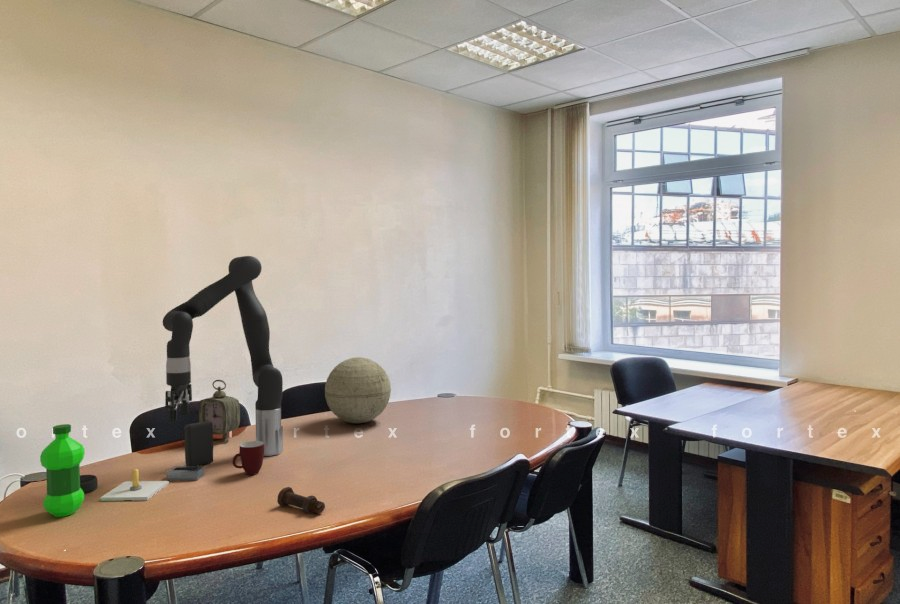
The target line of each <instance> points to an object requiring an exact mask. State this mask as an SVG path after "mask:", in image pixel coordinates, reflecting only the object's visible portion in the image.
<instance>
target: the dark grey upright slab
mask: <svg viewBox="0 0 900 604" xmlns="http://www.w3.org/2000/svg"><path fill="white" fill-rule="evenodd" d="M183 429H184V436H183V437H184V459H185V460H184V461H185V466H198V465H199V466H204V465H207V463H208V464H212V463H213V462H214V434H213V423H212V422H211V421H204V422H199V421H198V422H194V423H193V422H192V423H188V424H187V423H186V424H185V425H184V428H183ZM203 464H204V465H203Z"/></svg>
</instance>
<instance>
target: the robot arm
mask: <svg viewBox="0 0 900 604" xmlns="http://www.w3.org/2000/svg"><path fill="white" fill-rule="evenodd" d="M261 272H262V263H261V261H260V260H259V259H258V258H257V257H255V256H252V255H251V256H250V255H244V256H238V257H234V258H233V259H231V260H230V261H229V264H228V273H227V274H226V275H224V276H223V277H222V278H220V279H219V280H216V281H215V282H213V283H211V284H209V285H207V286H206V287H204V288H203V289H201V290H199V291H198V292H196V294H194V295H193V296H191V297H190V298H189V299H188V300H186V301H185V302H183V303H181V304H179V305H177V306H175V307H174V308H172V309H171V310H168V312H167V313H166V314H165V315H164V316H163V318H162V326H163V327H164V329H166V331H169V332H171V337H170V338H171V339H169V340H168V341H167V343H166V362H165V369H166V370H165V371H166V372H165V375H166V378H165V380H166V382H165V383H166V385H167V386H169V387H170V390H166V391H165V392H164V393H165V394H164V395H165V399H164V400H165V401H164V402H165V404H164V407H165V410H169V411H168V413H169V417H168V418H169V421H170V422H176V421H177V420H178V407H179V405H180V403H181V405H180V406H181V407H180V409H181V411H180V412H181V416H188V415H189V414H190V413H189V412H190V410H189V408H190V407H189V404H190V402H192V400H193V393H192V390H193V389H192V384H191V383H192V378H191V377H192V376H191V375H192V374H191V372H192V371H191V369H192V366H191V365H192V364H191V358H190V343H191V339H192V335H193V329H194V323H193V319H196V318H200V317H202V316H204V315H205V314H206V313H208V312H209V311H210V310H211V309H212V308H214V307H215V306H217V304H219V303H220V302H221V301H223V300H224V299H225V298H226V297H228V296H229V295H230V294H232V293H235V297H236V301H237V307H238V311H239V314H240V320H241V326H242V330H243V335H244V338H245V343H246V346H247V349H248V352H249V356H250V363H251V374H252V376H251V377H252V381H253V383H254V385H255V386H256V387H257V400H255V402H254V403H255V406H254V407H255V441H262V442H264V457H269V456H270V457H271V456H276V455H277V456H278V455H280V454H281V453H282V452H283V451H284V442H283V441H284V439H283V438H284V437H283V436H284V435H283V434H284V433H283V431H284V428H283V425H282V405H281V404H282V401H283V389H284V388H283V383H284V382H283V375H282V373H281V370H280V369H278V368H277V367H275V366H274V364H273V361H272V357H271V354H270V333H271V332H270V331H271V330H270V324H269V319H268V317H267V316H268V315H267V313H266V310H265V308H264V307H263V305H262V303H261V301H260V300H259V298H258V296H257V295H256V292H255V290H254V286H253V281H254V280H256V279H257V278H258V277H259V276H260V274H261Z"/></svg>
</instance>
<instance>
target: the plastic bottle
mask: <svg viewBox="0 0 900 604" xmlns="http://www.w3.org/2000/svg"><path fill="white" fill-rule="evenodd" d="M71 432H72V425H71V424H68V423H67V424H66V423H65V424H63V423H62V424H58V425H54V426H53V427H52V434H53V435H54V436H55V437H54V438H55V439H53V440H52V441H51V442H50V443H49V444H47V446H45V448H44V449H43V450H41V454H40V457H39V459H40V460H39V461H40V465H41V466H42V467H43V468H44V469H46V473H45V474H46V495H45V497H44V499H43V501H42V505H43V508H44V510H45V511H46V512H47V513H49V514H50V515H53V516H54V517H56V518H61V517H63V518H64V517H67V516H71V515H72V514H75V513H76V511H77V510H78V509H80V508H81V506H82V504H83V502H84V501H85V494H84V492H83V490H82V489H81V488H80V475H81V471H80V470H81V468H80V464H81V462H82V461H83V460H84V457H85V447H84V446H83V444H81V442H79V441H77V440H76V439H74V438H73V437H70V433H71Z"/></svg>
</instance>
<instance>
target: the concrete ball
mask: <svg viewBox="0 0 900 604" xmlns="http://www.w3.org/2000/svg"><path fill="white" fill-rule="evenodd" d="M330 371H331V372H330V373H329V375H328V376H327V378H326V380H325V381H326V382H325V386H324V396H325V401H326V404H327V406H328V408H329V410H330V411H331V412H332V414H334V416H336V417H337V418H338V419H340V420H341V421H344V422H346V423H349V424H363V423H368V422H371V421H373V420H374V419H376V418H377V417H379V416H380V415H381V414H382V413H383V412H384V410H385V409H386V408H387V406H388V404H389V402H390V398H391V391H392V388H391V381H390V378H389V375H388V374H387V372H386V370H385V369H384V368H383V366H381V365H380V364H378V362H376V361H374V360H372V359H370V358H365V357H359V356H358V357H352V358H348V359H344V360H343V361H340V362H339V363H338V364H337V365H336V366H334V368H333V369H332V370H330Z"/></svg>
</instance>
